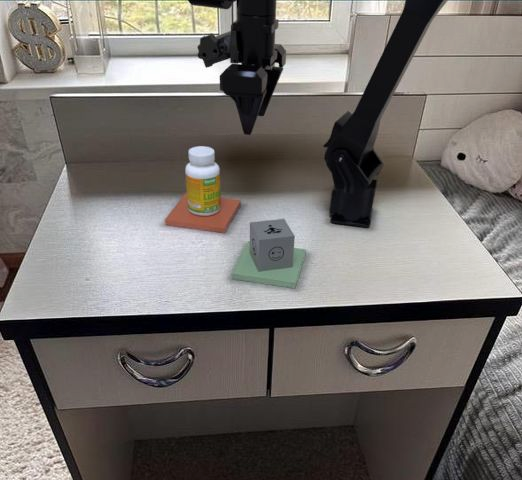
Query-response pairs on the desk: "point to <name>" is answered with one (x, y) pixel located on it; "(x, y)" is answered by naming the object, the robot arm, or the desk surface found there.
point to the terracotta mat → (209, 223)
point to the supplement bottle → (203, 182)
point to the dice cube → (271, 244)
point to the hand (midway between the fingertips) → (254, 124)
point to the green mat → (277, 277)
